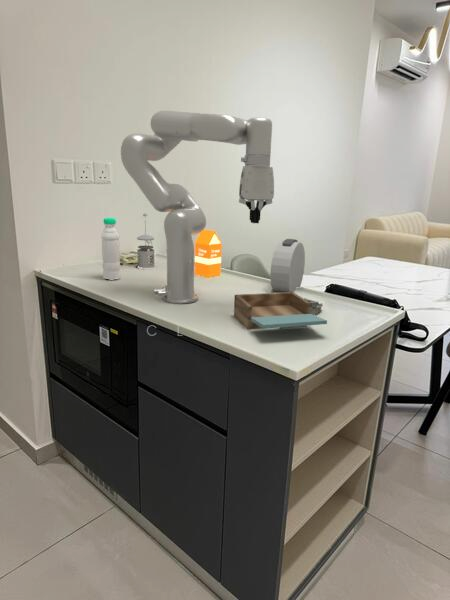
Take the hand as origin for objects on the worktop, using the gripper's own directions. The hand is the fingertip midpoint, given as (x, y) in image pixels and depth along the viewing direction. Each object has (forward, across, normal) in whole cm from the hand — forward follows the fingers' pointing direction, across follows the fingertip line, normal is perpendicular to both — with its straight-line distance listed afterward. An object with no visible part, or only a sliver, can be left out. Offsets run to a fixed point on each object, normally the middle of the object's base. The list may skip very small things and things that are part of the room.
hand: (254, 222), depth 140 cm
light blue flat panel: (+26, +3, -18) cm, 31 cm away
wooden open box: (+29, +3, -11) cm, 31 cm away
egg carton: (+30, +18, -5) cm, 35 cm away
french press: (+29, -25, +75) cm, 84 cm away
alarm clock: (+29, +25, +26) cm, 46 cm away
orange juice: (+29, -1, +53) cm, 61 cm away
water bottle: (+29, -42, +53) cm, 74 cm away
